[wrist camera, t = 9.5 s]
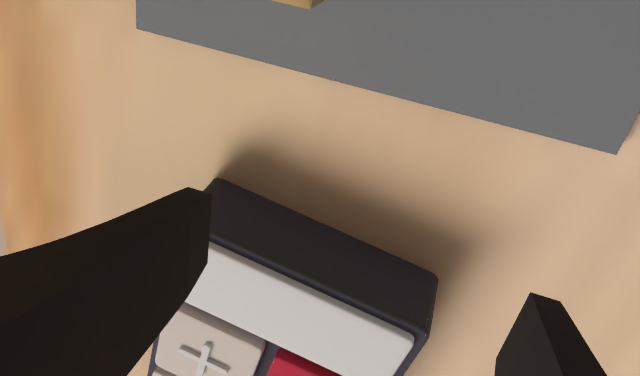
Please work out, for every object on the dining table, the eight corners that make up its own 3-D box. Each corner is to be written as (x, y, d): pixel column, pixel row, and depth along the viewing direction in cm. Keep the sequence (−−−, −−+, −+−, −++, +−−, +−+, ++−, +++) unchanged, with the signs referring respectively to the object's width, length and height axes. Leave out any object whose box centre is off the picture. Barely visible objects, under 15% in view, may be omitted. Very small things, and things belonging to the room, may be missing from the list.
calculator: (132, 422, 29) (164, 227, 20) (172, 360, 32) (215, 172, 23) (314, 511, 28) (431, 349, 19) (335, 438, 31) (442, 273, 23)
